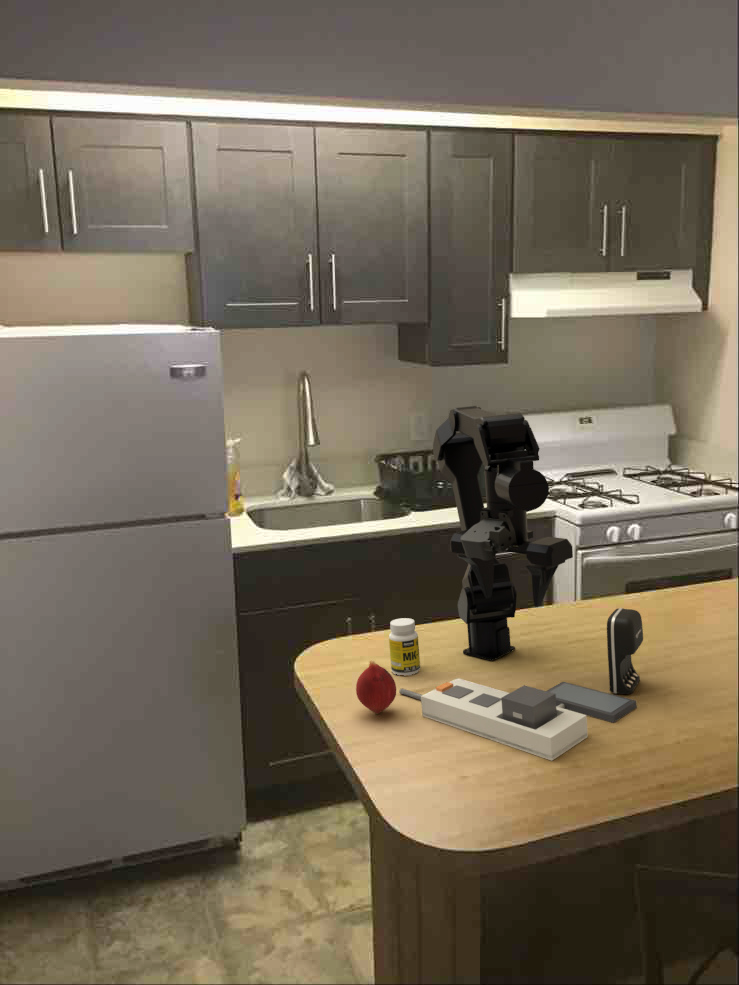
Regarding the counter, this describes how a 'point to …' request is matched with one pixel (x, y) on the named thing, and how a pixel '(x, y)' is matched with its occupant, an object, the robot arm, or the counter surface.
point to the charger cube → (529, 707)
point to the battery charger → (623, 649)
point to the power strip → (499, 718)
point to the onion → (376, 688)
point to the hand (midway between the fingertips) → (512, 601)
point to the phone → (592, 702)
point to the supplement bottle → (404, 647)
